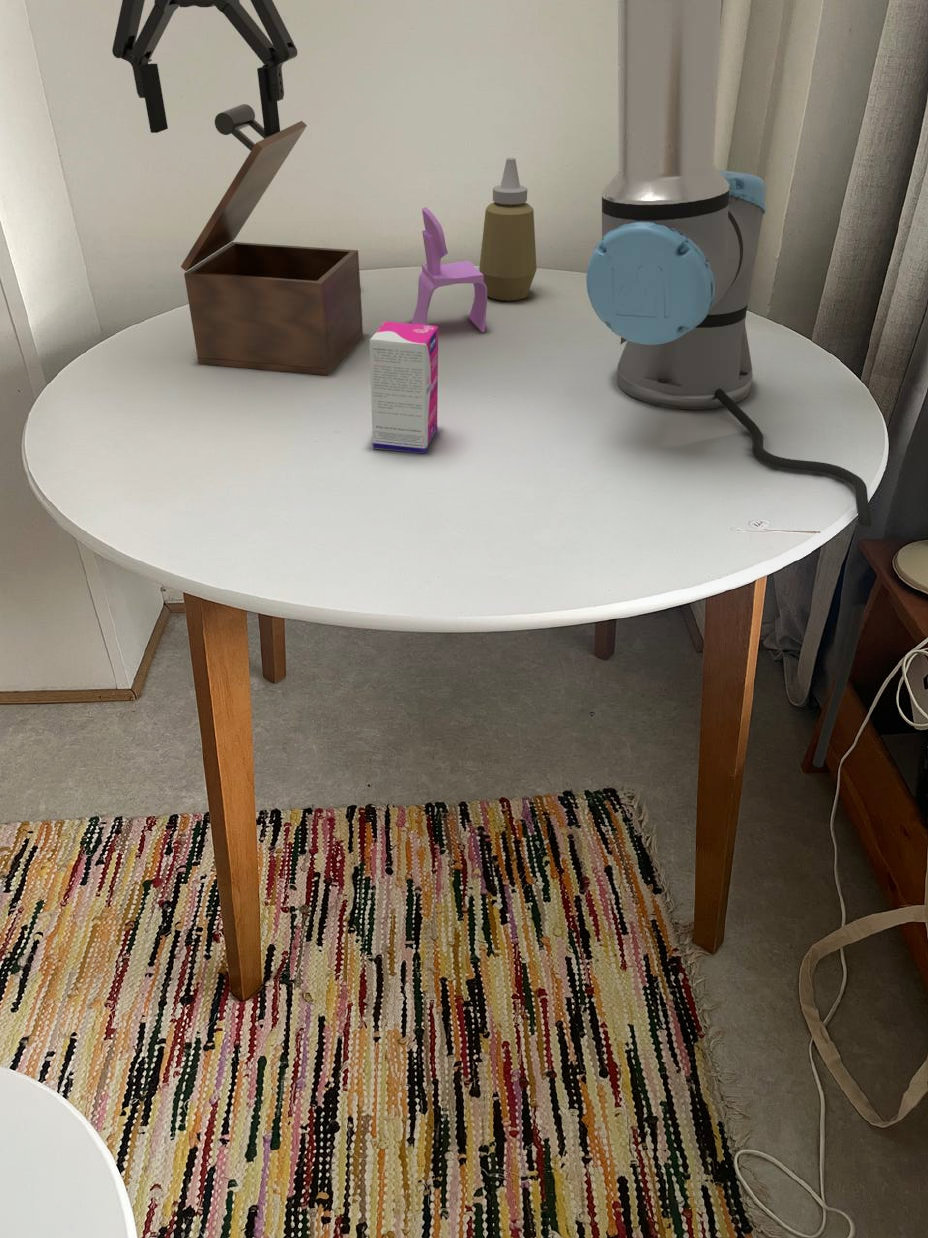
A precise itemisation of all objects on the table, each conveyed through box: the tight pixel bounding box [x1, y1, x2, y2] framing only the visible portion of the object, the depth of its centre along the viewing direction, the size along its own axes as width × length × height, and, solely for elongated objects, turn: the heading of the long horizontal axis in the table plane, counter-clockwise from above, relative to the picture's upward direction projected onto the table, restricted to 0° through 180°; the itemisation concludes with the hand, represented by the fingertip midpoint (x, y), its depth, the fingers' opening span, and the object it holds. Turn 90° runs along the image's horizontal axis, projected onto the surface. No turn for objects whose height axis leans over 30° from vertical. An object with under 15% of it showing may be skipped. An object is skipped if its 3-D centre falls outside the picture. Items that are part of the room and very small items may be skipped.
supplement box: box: [369, 320, 439, 454], centre depth 100 cm, size 6×6×12 cm
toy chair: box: [410, 207, 488, 333], centre depth 127 cm, size 8×9×15 cm
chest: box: [183, 241, 364, 376], centre depth 121 cm, size 17×14×11 cm
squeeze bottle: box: [478, 157, 538, 301], centre depth 137 cm, size 8×8×18 cm
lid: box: [180, 103, 308, 272], centre depth 114 cm, size 17×14×6 cm
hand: (215, 132), depth 111 cm, fingers open, 13 cm apart
